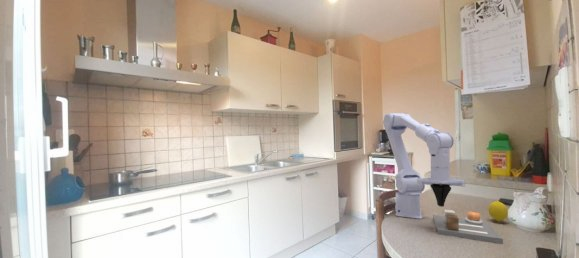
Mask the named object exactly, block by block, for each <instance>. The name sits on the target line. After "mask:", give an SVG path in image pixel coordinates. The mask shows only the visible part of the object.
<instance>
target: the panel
mask: <svg viewBox="0 0 579 258" xmlns="http://www.w3.org/2000/svg"><path fill="white" fill-rule="evenodd" d="M458 218H459V230H452V229H448V228H447V223H445V221H444V215H440V214H439V215H438V214H432V220H433V221H434V225H435V228H436V231H437V234H438V235H442V236H449V237H454V238H462V239H467V240H476V241H483V242H489V243H496V244H504V239H503V237H502V236H501V235H500V234H499V233H498V232H497V231H496V230H495V229H494V227H493V226H492V225H491V224H490V223H489V222H488V221H487V220H482V219H481V218H480V220H471V219H468V217H467V216H465V217H458Z"/></svg>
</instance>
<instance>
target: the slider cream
mask: <svg viewBox="0 0 579 258" xmlns="http://www.w3.org/2000/svg"><path fill="white" fill-rule="evenodd" d="M446 214H449V215H456V212H455V211H454V210H452V209H444V210H443V216H444V221H445V223H447V218H446Z"/></svg>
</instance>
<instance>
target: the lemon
mask: <svg viewBox="0 0 579 258" xmlns="http://www.w3.org/2000/svg"><path fill="white" fill-rule="evenodd" d="M488 213H489V216H490V217H491V218H492V219H493V220H495V221H496V222H497V223H499V222H501V221H504V220H506V219H507V218H508V214H509V213H508V208H507V206H506V205H505V203H503V202H501V201H499V200H495V201H493V202H491V203H490V204H489V206H488Z"/></svg>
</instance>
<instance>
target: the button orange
mask: <svg viewBox="0 0 579 258" xmlns="http://www.w3.org/2000/svg"><path fill="white" fill-rule="evenodd" d="M466 217H468V219H471V220H480V219H481V213H479V212H476V211H470V210H469V211H467V216H466Z"/></svg>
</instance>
